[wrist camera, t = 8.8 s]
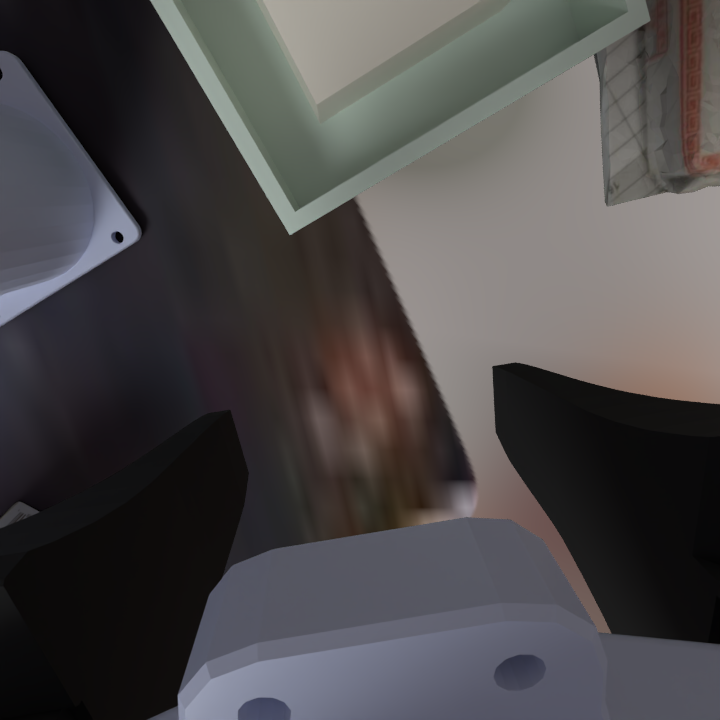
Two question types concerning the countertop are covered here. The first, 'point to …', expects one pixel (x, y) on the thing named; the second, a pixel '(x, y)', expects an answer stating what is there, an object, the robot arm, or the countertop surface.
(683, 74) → the packaged product
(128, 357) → the countertop surface
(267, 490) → the countertop surface
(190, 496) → the robot arm
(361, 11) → the white box
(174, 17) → the box
